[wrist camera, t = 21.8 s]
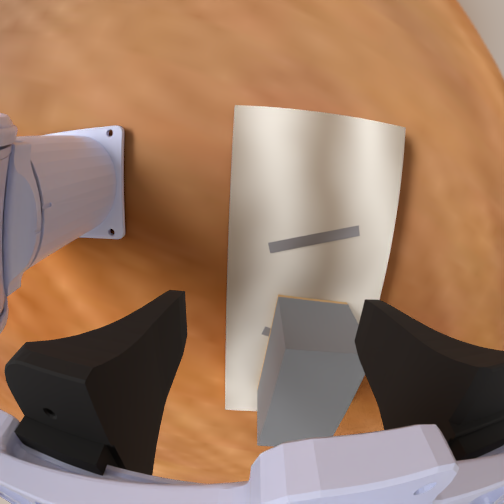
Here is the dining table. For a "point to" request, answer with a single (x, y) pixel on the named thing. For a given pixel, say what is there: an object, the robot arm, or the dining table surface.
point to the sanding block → (307, 370)
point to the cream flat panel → (303, 223)
